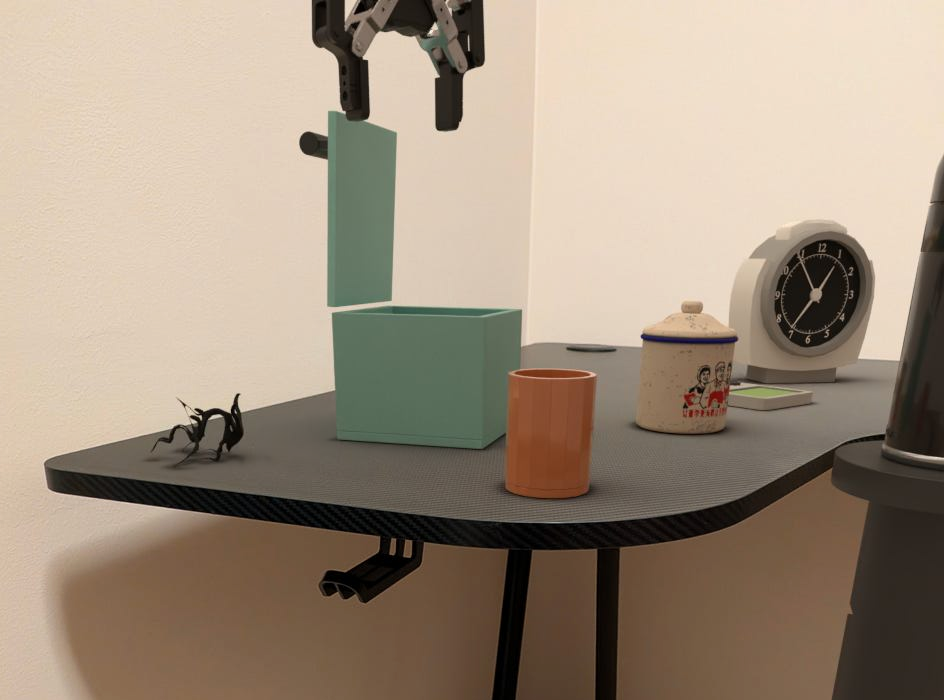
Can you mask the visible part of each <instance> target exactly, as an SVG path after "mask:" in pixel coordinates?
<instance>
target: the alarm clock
mask: <svg viewBox="0 0 944 700" xmlns="http://www.w3.org/2000/svg"><path fill="white" fill-rule="evenodd" d="M875 284H876V273H875V269H874V263H873V259H869V257H868V255H867V253H866V250H865V248H864V247H863V246H862V244H860V243H859V241H858V240H857V239H856V238H855V237H853V236H852V235H850V234H849V233H848V229H847V227H846V226H844V225H842V224H841V223H839V222H837V221H836V220H831V219H823V218H818V219H801V220H798V219H797V220H791V221H789V222H787V223H785V224H782V225H781V226H778V227H777V229H776V231H775V234H774V235H773V236H770V237H768V238H767V239H765V240H764V241H763V242H762V243H761V244H759V245H758V246H757V247H756V248H755V249H754V250H753V251H752V253H751V254H750V256H749V257H748V258H743V259H742V261H741V262H740V265H739V267H738V269H737V271H736V273H735V275H734V279H733V284H732V288H731V293H730V299H729V309H728V310H729V311H728V327H730V328H732V329H735V330H736V332H737V337H738V341H737V342H735V348H734V356H733V363H739V364H744V365H747V368H746V375H745V379H747V380H751V381H755V382H758V383H763V384H794V383H795V384H797V383H798V384H799V383H801V384H802V383H834V382H835V379H836V374H837V369H838V368H841V367H846V366H850V365H854V364H857V362H858V360H859V356H860V354H861V351H862V349H863V348H862V347H863V344H864V341H865V338H866V335H867V330H868V326H869V322H870V319H871V314H872V309H873V304H874V299H875V289H876V288H875V286H876V285H875Z"/></svg>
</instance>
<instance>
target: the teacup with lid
mask: <svg viewBox="0 0 944 700" xmlns="http://www.w3.org/2000/svg"><path fill="white" fill-rule="evenodd" d="M680 310H681V312H676V313H672V314H670V315H668V316H667V317H665V318H664V319H662V320H661V321H659V322H657V323H653V324H651V325H648V326H646V327H644V328H643V329H642V330H641V331H642V333H641V334H640V339H641V340H642V346H641V355H640V357H641V358H640V370H639V381H638V393H637V403H636V404H637V405H636V417H635V423H636V425H637V426H639V427H640V428H642V429H645V430H648V431H653V432H659V433H665V434H666V433H668V434H683V435H700V434H701V435H703V434H712V433H717V432H720V431H721V430H723V429H724V428H725V427H726V420H727V413H728V406H729V405H728V397H729V389H730V381H731V380H732V371H733V364H734V361H733V356H734V348H735V342H737V341H738V337H737V332H736V330H735V329H732V328H730V327H729V326H727V325H725V324H723V323H721V322H720V321H719V320H718V319H717V318H715V317H714V316H713V315H711V314H709V313H704V312H703V310H704V304H703V302H702V301H700V300H698V301H697V300H685V301H683V302H682V303H681V305H680Z"/></svg>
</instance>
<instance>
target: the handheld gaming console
mask: <svg viewBox="0 0 944 700" xmlns="http://www.w3.org/2000/svg"><path fill="white" fill-rule="evenodd" d="M813 394H814V392H813V390H812V391H811V390H806V389H805V390H804V389H796V388H788V387H781V386H771V385H764V384H757V383H756V384H755V383H748V382H747V383H746V382H740V381H738V380H737V379H731V381H730V389H729V397H728V406H729V407H731V406H732V407H736V408H744V409H749V410H758V411H770V410H771V411H772V410H777V409H783V408H789V407H790V408H791V407H796V406H802V405H809V404H812V400H813Z"/></svg>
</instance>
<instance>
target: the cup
mask: <svg viewBox="0 0 944 700" xmlns="http://www.w3.org/2000/svg"><path fill="white" fill-rule="evenodd" d="M597 380H598V374H597V373H594V372H592V371H586V370H580V369H571V368H570V369H569V368H522V369H521V368H520V370H514V371H510V372H508V381H507V417H506V433H505V456H504V479H505V483H504V488H505V489H506V491H508V492H510V493H512V494H515V495H518V496H522V497H523V496H524V497H528V498H536V499H537V498H538V499H566V498H573V497H575V498H576V497H579V496H582V495H585V494H587V493H588V492H589V490H590V482H591V472H592V456H593V455H592V454H593V442H594V441H593V440H594V428H595V427H594V426H595V425H594V424H595V410H596V396H597V395H596V394H597Z"/></svg>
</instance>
